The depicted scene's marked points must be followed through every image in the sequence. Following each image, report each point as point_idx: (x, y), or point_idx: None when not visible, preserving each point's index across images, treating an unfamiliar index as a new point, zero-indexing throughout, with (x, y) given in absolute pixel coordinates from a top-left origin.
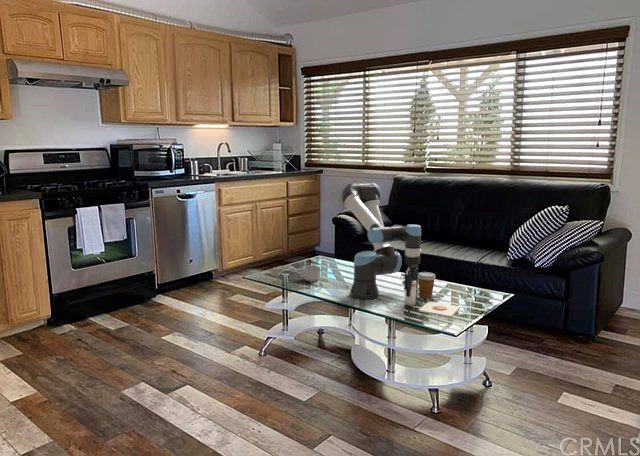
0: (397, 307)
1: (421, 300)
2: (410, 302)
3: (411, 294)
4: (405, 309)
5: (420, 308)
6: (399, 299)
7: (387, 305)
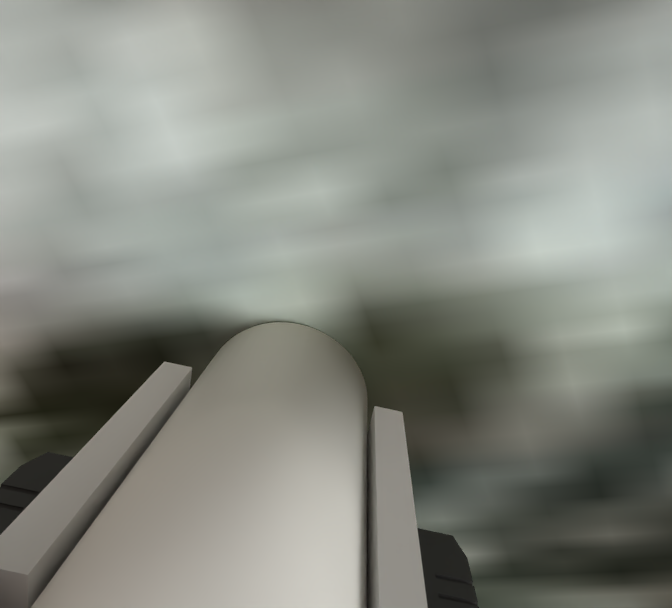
0: (29, 226)
1: (545, 528)
2: None
3: None
4: (5, 361)
5: None
6: (509, 181)
7: (40, 16)
